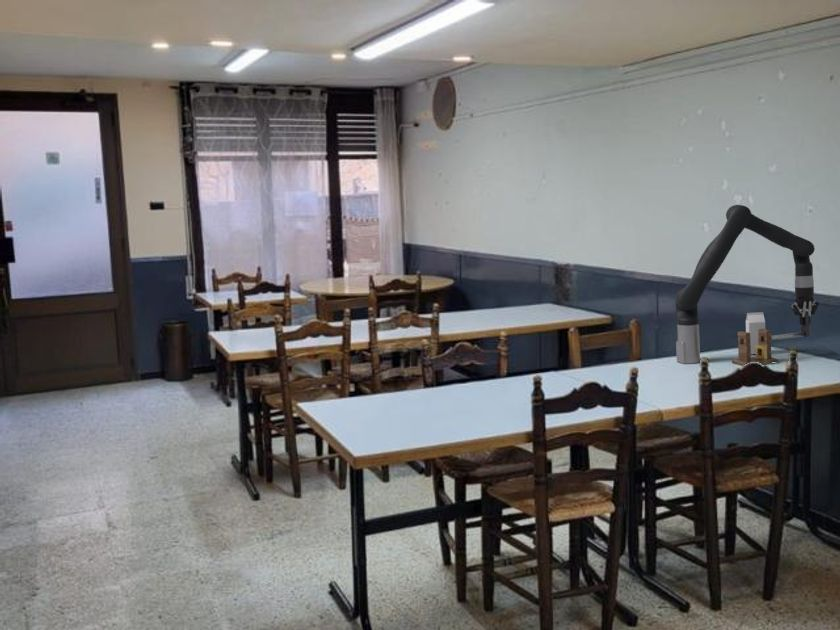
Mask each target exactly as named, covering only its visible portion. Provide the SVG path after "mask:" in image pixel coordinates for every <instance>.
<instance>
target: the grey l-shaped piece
mask: <svg viewBox="0 0 840 630" xmlns="http://www.w3.org/2000/svg"><path fill="white" fill-rule="evenodd" d="M800 328H801V331H799V332H792V333H782V334H775V335H774V334H773V335H771V341H776V340H777V341H778V340H786V339H792V338H793V339H795V338H801V337H806V338H808V337H810V325H809V314H806V313H805V325H804V326H802V325H801V324H800Z"/></svg>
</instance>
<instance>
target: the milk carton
mask: <svg viewBox="0 0 840 630" xmlns="http://www.w3.org/2000/svg"><path fill="white" fill-rule="evenodd" d="M758 329H766V319H765V316H764V312H763V311H760V312H759V311H758V312H747V313H746V318H745V332H748V333H750V345H751V354H756V352H755V344H759V343H758Z"/></svg>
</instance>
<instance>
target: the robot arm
mask: <svg viewBox="0 0 840 630" xmlns="http://www.w3.org/2000/svg"><path fill="white" fill-rule="evenodd" d="M725 217H726V222H725V224H724V226H723V228H722V229H721V230H720V232H719V233H718V234H717V236H715V238H713V240H712V241H711V242H709V244H708V245H707V247H706V248H705V249H704V252H703V253H702V254H701V257H700V258H699V259H698V262H697V264H696V266H695V269H694V271H693V275H692V276H691V278H690V280H689V281H688V283H687V284H686V285H685V287H682V288H681V289H679V290H678V291H677V292H676V295H675V312H676V313H675V314H676V315H675V317H676V327H677V340H676V341H675V349H676V353H675V354H676V362H677V363H680V364H683V365H684V364H698V363H700V362H701V350H700V349H701V348H700V347H701V346H700V344H701V343H700V323H699V320H700V319H699V313H698V311H699V310H698V303H700V302H699V301H700V299H701V297H702V296H703V293H704V291H705V290H706V287H707V286H708V284H709V283H710V282H711V280H712V279H713V278H714V277H715V275H716V273H717V272H718V271H719V269H720V268H721V266H722V265H723V263H724V262H725V260H726V258H727V257H728V254H729V253H730V251H731V250H732V248H733V245H735V242H736V240H737V239H738V237H739V236H740V235H741V233H742V232H743V231H744V229H747V230H749V231H751V232H753V233H755V234H757V235H759V236H761V237H763V238H764V239H766V240H768V241H769V242H772V243H774V244H775V245H777V246H780V247H781V248H785V249H788V250H791V251H792V256H793V258H792V259H793V261H794V267H795V268H794V272H795V273H794V296H795V300H794V303H791V304H789V307H790V308H791V311H792V312H793V314H794V315H795V316H797V317H799V324H800V326H801V325H802V326H804V325H805V313H806V314H809V326H810V324H811V316H813V315H815V313H816V312H817V310H818V307H819V305H820V302H818V301H816V300H815V299H814V296H815V289H814V288H815V286H814V285H815V283H814V281H815V280H814V273H813V272H814V271H813V270H814V269H813V268H814V267H813V263H812V262H811V260H810V256H812V255H813V254H814V252H815V250H816V249H815V246H814V243H813V242H812V241H810V240H808V239H805V238H803V237H801V236H798V235H795V234H794V233H792V232H791V231H788V230H787V229H784V228H782V227H780V226H778V225H776V224H774V223H771V222H768V221H766V220H764V219H762V218H760V217H759V216H756V215H754V214H753V213H752V211H751V209H750V208H749V207H748V206H746V205H742V204H733V205H731V206H730V207H728V209H727V210H726V213H725Z"/></svg>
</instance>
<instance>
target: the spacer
mask: <svg viewBox="0 0 840 630" xmlns="http://www.w3.org/2000/svg"><path fill="white" fill-rule="evenodd" d="M761 349H762V355H761ZM755 352H756V355H755V357H756V358H759V359H763V360H767V346H765V345H761V344H755Z"/></svg>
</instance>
